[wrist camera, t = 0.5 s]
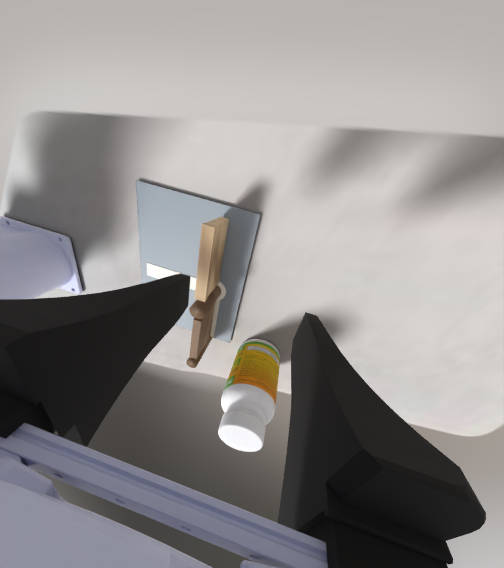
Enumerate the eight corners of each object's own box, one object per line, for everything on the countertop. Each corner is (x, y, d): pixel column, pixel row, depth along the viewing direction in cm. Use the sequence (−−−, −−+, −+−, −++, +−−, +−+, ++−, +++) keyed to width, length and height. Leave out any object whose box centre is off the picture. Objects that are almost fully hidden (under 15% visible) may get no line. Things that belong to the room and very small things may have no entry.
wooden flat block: (219, 283, 21) (204, 302, 18) (210, 280, 21) (194, 298, 18) (230, 219, 18) (214, 227, 14) (219, 216, 18) (201, 223, 14)
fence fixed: (202, 337, 26) (184, 365, 22) (209, 280, 22) (189, 302, 18) (213, 340, 26) (197, 369, 22) (223, 284, 22) (206, 307, 18)
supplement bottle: (240, 332, 24) (210, 412, 16) (284, 343, 24) (276, 432, 15) (237, 362, 27) (209, 445, 18) (276, 372, 26) (266, 463, 18)
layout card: (145, 312, 26) (143, 314, 26) (138, 180, 18) (135, 180, 18) (230, 341, 25) (229, 343, 25) (260, 214, 18) (259, 214, 17)
